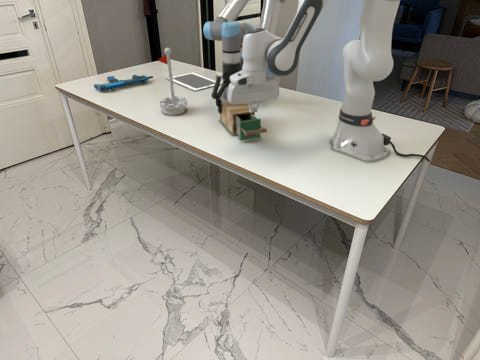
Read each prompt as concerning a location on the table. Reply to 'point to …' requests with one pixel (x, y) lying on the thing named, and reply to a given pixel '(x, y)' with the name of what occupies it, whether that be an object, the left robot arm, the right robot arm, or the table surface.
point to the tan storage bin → (232, 114)
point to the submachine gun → (121, 82)
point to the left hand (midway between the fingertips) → (232, 111)
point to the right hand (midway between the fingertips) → (253, 111)
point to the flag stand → (174, 103)
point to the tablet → (193, 81)
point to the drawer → (247, 126)
